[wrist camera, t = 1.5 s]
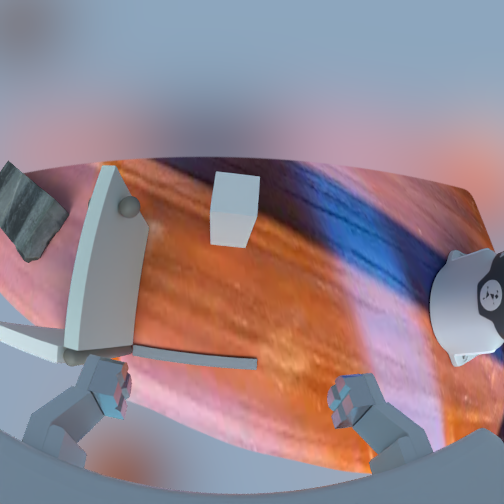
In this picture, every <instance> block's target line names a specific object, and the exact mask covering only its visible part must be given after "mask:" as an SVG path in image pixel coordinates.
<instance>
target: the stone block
mask: <svg viewBox="0 0 504 504" xmlns="http://www.w3.org/2000/svg"><path fill="white" fill-rule="evenodd" d="M68 216H69V214H68V213H67V211H66V210H65V209H64V208H63V207H62V206H61V205H60V204H59V203H58V202H57V201H56V200H55V199H54V198H53V197H51V196H50V195H49V194H48V193H46V192H45V191H44V190H43V189H41V188H40V187H39V186H38V185H36V184H35V183H34V182H33V181H32V180H30V179H29V178H28V177H27V176H26V175H25V174H23V173H22V172H21V171H20V170H18V169H17V168H16V167H15V166H14V165H13V164H12V163H10V162H9V161H8V162H7V163H6V165H5V166H4V167H3V169H2V170H1V172H0V227H1V229H2V230H3V231H4V232H5V234H6V235H7V236H8V237H9V239H10V240H11V241H12V242H13V243H14V244H15V245H16V249H17V251H18V252H19V254H20V255H21V257H22V258H23V260H24V261H26V262H28V263H29V262H30V261H32V260H38V259H39V258H40V257H41V254H42V253H43V251H44V249H45V248H46V246H47V245H48V243H49V241H50V240H51V239H52V238H53V236H54V235H55V234H56V233H57V232H58V231H59V230H60V228H61V226H62V225H63V223H64V221H65V220H66V218H67V217H68Z"/></svg>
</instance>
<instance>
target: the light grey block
mask: <svg viewBox="0 0 504 504" xmlns="http://www.w3.org/2000/svg"><path fill="white" fill-rule="evenodd" d="M259 184H260V177H258V176H250V175H242V174H234V173H225V172H216V175H215V181H214V188H213V194H212V201H211V208H210V241H211V244H213V245H222V246H231V247H240V248H245V247H246V245H247V242H248V239H249V237H250V234H251V232H252V229H253V226H254V224H255V221H256V218H257V212H258V198H259Z"/></svg>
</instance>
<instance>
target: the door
mask: <svg viewBox="0 0 504 504" xmlns="http://www.w3.org/2000/svg"><path fill="white" fill-rule="evenodd" d="M148 232H149V227H148V225H147V223H146V221H145V220H144V218H143V216H142V214H141V212H140V203H139V201H138V199H137V198H135V197H133V196H131V194H130V192H129V190H128V188H127V187H126V185H125V183H124V181H123V179H122V177H121V175H120V173H119V171H118V169H117V167H116V166H103V165H102V168H101V171H100V174H99V177H98V179H97V182H96V185H95V188H94V191H93V194H92V197H91V199H90V200H89V203H88V211H87V214H86V218H85V221H84V225H83V229H82V233H81V237H80V241H79V245H78V250H77V254H76V259H75V264H74V269H73V274H72V280H71V286H70V292H69V299H68V307H67V315H66V324H65V335H64V347H66V348H69V349H66V350H65V351H64V354H63V358H64V361H65V363H66V364H67V365H69V366H77V365H82V364H85V361H86V359H87V357H88V356H89V355H90V354H92V355H96V356H100V357H104V358H108V359H111V358H115V357H120V356H124V355H129V354H131V352H132V347H131V346H130V345H133V335H134V324H135V315H136V306H137V299H138V291H139V284H140V277H141V271H142V265H143V259H144V253H145V248H146V242H147V237H148Z"/></svg>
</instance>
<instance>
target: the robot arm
mask: <svg viewBox="0 0 504 504" xmlns="http://www.w3.org/2000/svg"><path fill="white" fill-rule="evenodd" d="M430 317H431V323H432V327H433V331H434V334H435V336H436V338H437V340H438V342H439V344H440V345H441V346H442V347H443V348H444V349H445V350H446V351H447V352H448V354H449V356H450V359H451V362H452V364H453V366H454V367H458V366H461V365H463V364H465V363H466V362H468V361H470V360H471V359H473V358H475V357H476V356H478V355H479V354H486V353H493V352H495V349H497V348H499V347H500V346H501V345H502V344H503V343H504V251H503V252H501V253H498V254H496V253H495V252H494V251H492V250H490V249H489V248H485V249H482V250H479V251H476V252H473V253H470V254H467V255H466V254H464V253H462V252H460V251H458V250H453V251H451V252H450V253H449V256H448V259H447V262H446V264H445V266H444V267H443V268H442V269H441V270H440V271H439V272H438V274H437V276H436V278H435V280H434V283H433V286H432V290H431V296H430ZM127 371H128V365H127V363H126V362H121V361H117V360H112V359H108V358H104V357H100V356H96V355H92V354H90V355H89V356H88V357H87V359H86V361H85V364H84V366H83V368H82V371H81V373H80V376H79V378H78V381H77V383H76V386H75V387H74V386H71V387H70V388H68V389H67V390H65V391H64V392H63V393H61V394H60V395H58V396H57V397H55V398H54V399H53V400H51V401H50V402H48V403H47V404H45V405H44V406H42V407H41V408H40V409H38V410H37V411H35V412H34V413H32V415H31V417H30V420H29V423H28V426H27V428H26V431H25V434H24V437H23V439H22V441H20V440H18V439H17V438H15V437H13V436H11V435H10V434H8V433H6V432H4V431H3V430H1V429H0V504H504V443H503V442H502V440H501V439H500V438H499V437H498V436H496V435H495V434H493V433H492V432H490V431H489V430H487V429H485V428H480V429H478V430H476V431H474V432H472V433H471V434H469V435H467V436H465V437H463V438H461V439H460V440H458V441H456V442H454V443H452V444H450V445H448V446H446V447H444V448H442V449H440V450H438V451H435V452H433V450H432V448H431V445H430V443H429V440H428V438H427V436H426V433H425V431H424V429H422V428H421V427H420V426H419V425H417V424H416V423H415V422H413V421H412V420H411V419H409V418H408V417H407V416H405V415H404V414H403V413H401V412H400V411H399V410H398V409H396V408H395V407H394V406H392V405H391V404H390V403H389V402H388V403H386V402H385V400H384V397H383V395H382V393H381V391H380V388H379V386H378V384H377V381H376V379H375V377H374V375H373V374H372V373H366V374H354V375H343V376H339V377H337V378H336V380H335V383H336V384H335V385H334V386H332V387H331V388H330V390H329V391H328V396H327V401H328V406H329V408H330V409H331V410H333V414H332V416H331V417H332V420H333V424H334V427H335V429H338V428H346V427H352V428H353V429H354V430H355V431H356V432H357V433H358V434H359V435H360V436H361V437H362V438H363V439H364V440H365V441H366V442H367V443H368V444H369V446H370V447H371V448H372V449H373V450H374V451H375V452H376V453H377V454H378V455H377V456H376V457H374V458H373V459H371V461H370V462H369V464H370V468H371V471H372V475H370V476H367V477H363V478H359V479H355V480H351V481H347V482H343V483H338V484H333V485H328V486H323V487H317V488H310V489H304V490H296V491H287V492H275V493H259V494H217V493H199V492H189V491H180V490H171V489H165V488H159V487H153V486H148V485H143V484H137V483H133V482H129V481H125V480H121V479H117V478H113V477H110V476H106V475H102V474H99V473H96V472H93V471H90V470H87V469H84V465H85V460H86V456H87V455H86V453H85V451H84V450H83V449H82V448H81V447H80V446H79V445H78V444H77V442H79V440H80V439H82V438H83V437H84V436H85V435H86V434H87V433H88V432H89V431H90V430H91V429H92V428H93V427H94V426H95V425H96V424H97V423H98V422H99V421H100V420H101V419H102V418H103V417H104V416H108V417H113V418H117V419H122V420H124V418H125V414H126V409H127V404H126V401H125V400H126V399H127V398H129V397H130V393H131V385H132V382H131V376H130V374H129V373H128V372H127Z"/></svg>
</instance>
